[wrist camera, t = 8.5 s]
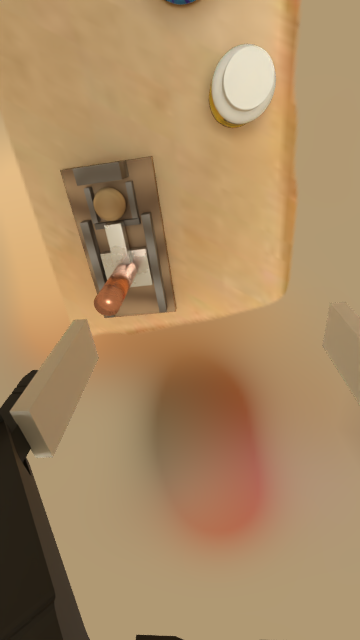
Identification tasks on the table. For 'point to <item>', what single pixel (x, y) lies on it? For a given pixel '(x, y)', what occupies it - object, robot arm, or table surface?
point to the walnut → (109, 204)
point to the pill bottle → (242, 85)
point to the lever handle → (121, 269)
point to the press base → (139, 223)
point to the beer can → (180, 1)
